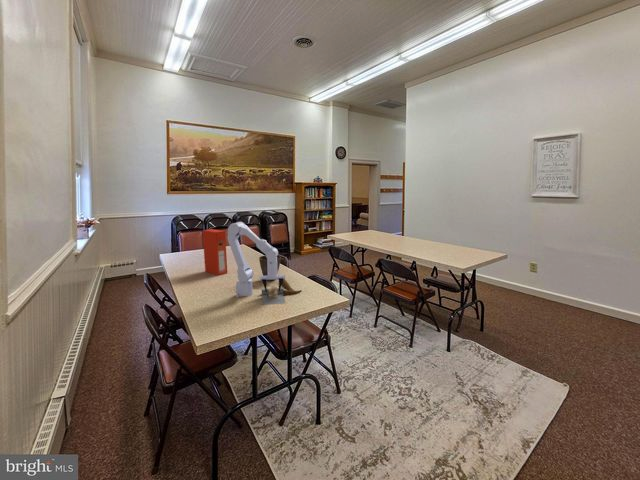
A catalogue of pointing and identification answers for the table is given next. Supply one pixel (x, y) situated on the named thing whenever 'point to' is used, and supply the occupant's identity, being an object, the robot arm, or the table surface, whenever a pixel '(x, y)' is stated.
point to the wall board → (273, 300)
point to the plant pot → (264, 265)
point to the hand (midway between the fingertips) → (272, 291)
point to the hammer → (289, 289)
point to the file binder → (215, 251)
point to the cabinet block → (272, 291)
